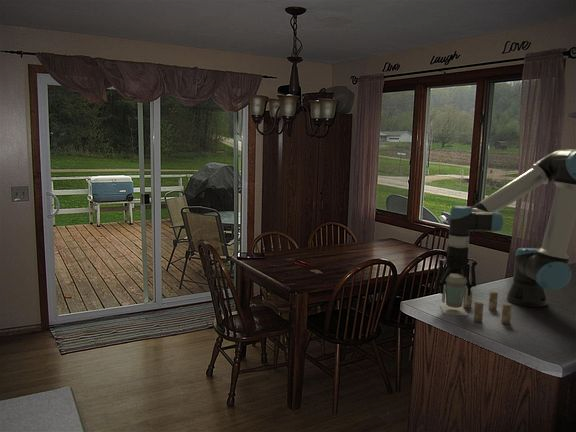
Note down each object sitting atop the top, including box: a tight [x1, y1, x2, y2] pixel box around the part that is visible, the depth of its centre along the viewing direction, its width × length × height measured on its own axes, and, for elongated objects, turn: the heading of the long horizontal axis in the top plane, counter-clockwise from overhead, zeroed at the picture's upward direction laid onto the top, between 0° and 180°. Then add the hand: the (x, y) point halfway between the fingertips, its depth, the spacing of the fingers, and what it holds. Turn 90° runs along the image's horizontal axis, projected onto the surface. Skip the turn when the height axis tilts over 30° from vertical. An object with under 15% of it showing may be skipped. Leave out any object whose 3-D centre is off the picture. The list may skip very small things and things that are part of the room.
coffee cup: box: [445, 272, 467, 308], centre depth 189 cm, size 8×8×12 cm
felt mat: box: [439, 305, 469, 317], centre depth 190 cm, size 9×9×1 cm
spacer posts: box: [462, 289, 512, 325], centre depth 186 cm, size 14×20×7 cm
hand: (454, 302), depth 190 cm, fingers closed on coffee cup, 8 cm apart
